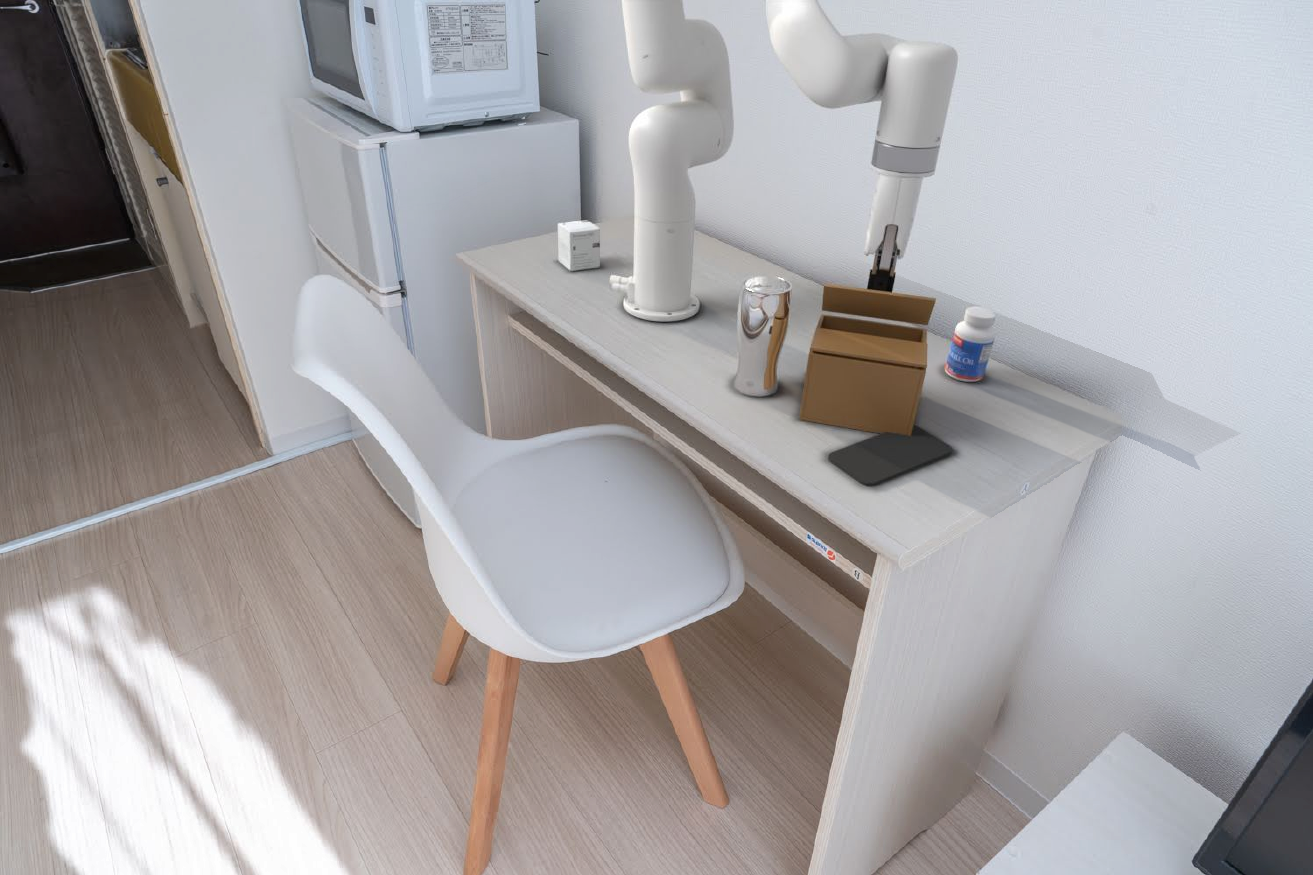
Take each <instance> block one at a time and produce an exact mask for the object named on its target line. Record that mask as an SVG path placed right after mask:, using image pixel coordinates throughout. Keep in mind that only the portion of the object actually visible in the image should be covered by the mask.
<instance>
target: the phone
mask: <svg viewBox="0 0 1313 875" xmlns="http://www.w3.org/2000/svg"><path fill="white" fill-rule="evenodd" d="M952 453H953V447H952V446H951V445H949V444H948V443H947V442H944V441H943V440H941V439H940V438H938V437H937V436H935V435H933V434H932V433H931V432H928V431H927V430H925V429H924V428H921V427H920V426H918V425H915V424H914V425H913V429H912V433H911V436H909V435H903V434H897V433H891V432H885V433H883V434H880V433H879V434H877V435H874V436H872V437H869V438H867V439H864V440H861V441H858V442H856V443H853V444H850V445H848V446H844V447H842V448H839V449H837V450H835V451H831V452H829V454H828V455H827V456H828V457H827V460H828V462H829V463H831V464H832V465H834V466H835V467H836V468H838V470H841V471H842V472H843V473H845V474H846V475H847V476H849V477H850V478H852V479H853V480H855V481H856V482H857V483H859V484H861V485H863V486H866V487H874V486H878V485H880V484H882V483H885V482H887V481H890V480H893V479H895V478H898V477H900V476H902V475H904V474H908V473H910V472H912V471H915V470H918V469H920V468H922V467H925V466H928V465H931V464H933V463H935V462H937V461H940V460H943V459H945V458H948V457H949V456H951V455H952Z"/></svg>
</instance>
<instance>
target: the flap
mask: <svg viewBox="0 0 1313 875" xmlns="http://www.w3.org/2000/svg"><path fill="white" fill-rule="evenodd" d="M936 302H937V298H936V297H928V296H921V295H913V294H906V293H899V292H893V291H892V292H885V291H877V290H870V289H867V288H861V287H853V286H845V285H839V284H832V283H824V284H823V289H822V302H821V311H822V312H830V313H836V314H843V315H849V316H850V315H851V316H857V317H865V318H871V319H878V320H887V321H893V322H900V323H908V324H915V325H922V326H928V325H929V322H930V320H931V317H932V314H933V310H934V307H935V304H936Z"/></svg>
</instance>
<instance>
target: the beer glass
mask: <svg viewBox="0 0 1313 875" xmlns="http://www.w3.org/2000/svg"><path fill="white" fill-rule="evenodd" d="M740 284H741V285H740V290H739V295H738V301H737V308H736V337H737V339H736V340H737V348H738V365H737V369H736V373H735V376H734V380H733V387H734V388H735V390H736V391H737V392H739V393H740V394H743V395H745V396H748V397H756V398H759V397H760V398H761V397H768V396H771V395H774V394H775V393H776V392H777V391H778V389H779V388H778V387H779V382H778V364H779V359H780V356H781V354H782V350H783V347H784V344H785V340H786V338H787V335H788V330H789V326H790V322H791V321H790V320H791V314H792V312H791V311H792V299H793V298H792V296H793V295H792V294H793V292H792V291H793V284H792V282H790V280H788V279H786V278H783V277H782V276H781V277H780V276H777V275H776V276H775V275H770V274H754V275H753V274H752V275H749V276H746V277H744V278H743V279H742V280H741V282H740Z"/></svg>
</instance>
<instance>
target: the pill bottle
mask: <svg viewBox="0 0 1313 875" xmlns="http://www.w3.org/2000/svg"><path fill="white" fill-rule="evenodd" d="M996 318H997V314H996V312H995V311H994V310H992V309H989V308H986V307H984V306H983V307H982V306H970V307H969V306H968V307H966V309H965V312H964V315H963V320H962V321H960V322H958V323H957V324H956V326H955V329H954V333H953V335H952V340H951V343H950V348H949V351H948V354H947V359H946V362H945V364H944V365H945V366H944V371H945V373H946V374H947V375H948V376H949V377H950V378H952V379H954V380H957V381H960V382H964V383H965V382H966V383H974V382H979V381H980V380H982V379H983V378H984V376H985V373H986V370H987V366H988V362H989V359H990V356H991V352H992V349H993V346H994V343H995V340H996V335H997V333H996V330H995V328H994V327H993V326H994V324H995V322H996Z"/></svg>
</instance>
